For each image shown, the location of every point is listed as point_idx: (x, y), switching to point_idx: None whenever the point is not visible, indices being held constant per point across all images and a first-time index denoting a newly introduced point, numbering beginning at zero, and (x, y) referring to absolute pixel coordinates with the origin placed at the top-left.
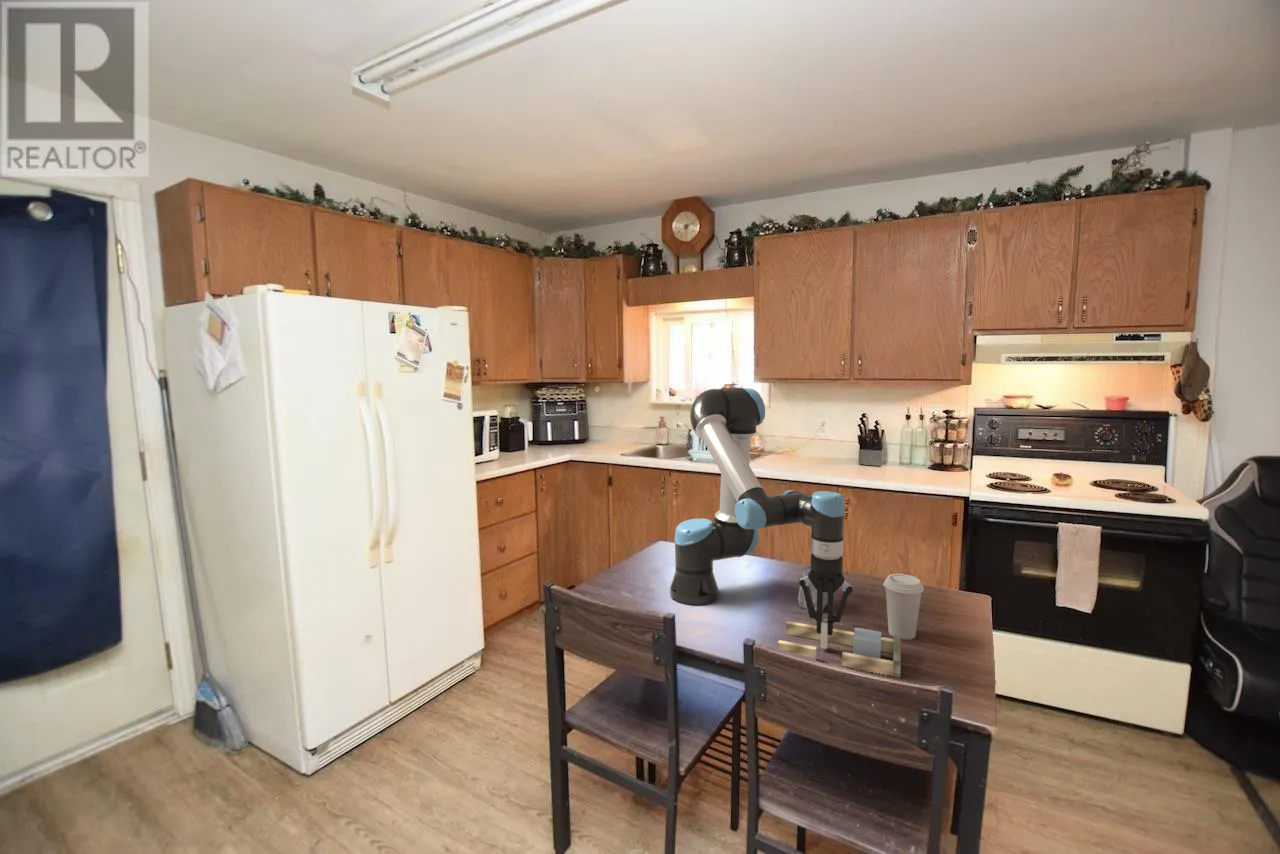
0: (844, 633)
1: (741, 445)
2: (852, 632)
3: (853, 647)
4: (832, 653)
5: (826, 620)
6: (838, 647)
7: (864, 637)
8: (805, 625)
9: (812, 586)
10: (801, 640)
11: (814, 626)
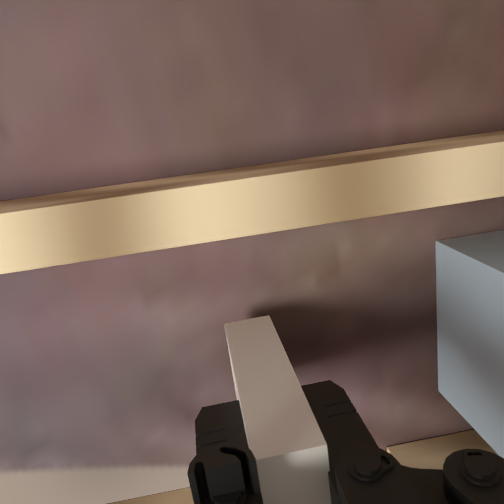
0: (398, 212)
1: None
2: (461, 156)
3: (498, 453)
4: (309, 362)
5: (310, 484)
6: (330, 260)
7: None
8: (26, 246)
9: None
10: (57, 300)
11: (114, 219)
